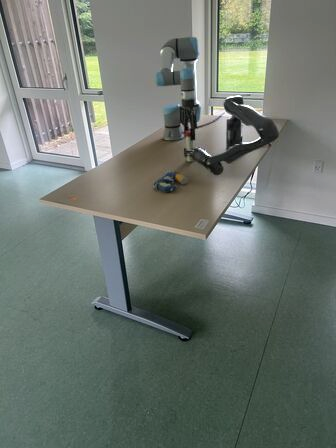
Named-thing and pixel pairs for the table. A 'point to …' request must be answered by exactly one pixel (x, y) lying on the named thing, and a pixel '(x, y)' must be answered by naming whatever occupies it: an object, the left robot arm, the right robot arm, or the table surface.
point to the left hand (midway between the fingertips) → (189, 138)
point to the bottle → (189, 147)
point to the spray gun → (169, 181)
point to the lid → (187, 133)
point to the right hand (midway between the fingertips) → (188, 148)
